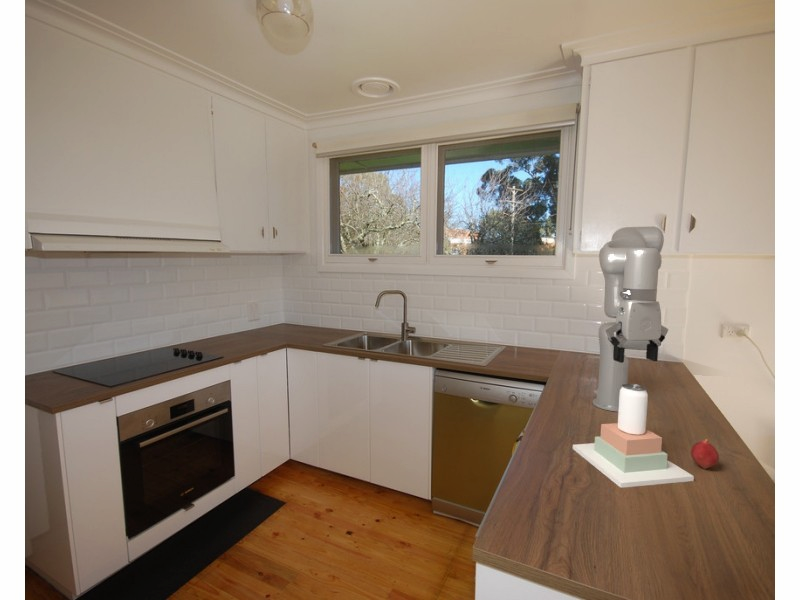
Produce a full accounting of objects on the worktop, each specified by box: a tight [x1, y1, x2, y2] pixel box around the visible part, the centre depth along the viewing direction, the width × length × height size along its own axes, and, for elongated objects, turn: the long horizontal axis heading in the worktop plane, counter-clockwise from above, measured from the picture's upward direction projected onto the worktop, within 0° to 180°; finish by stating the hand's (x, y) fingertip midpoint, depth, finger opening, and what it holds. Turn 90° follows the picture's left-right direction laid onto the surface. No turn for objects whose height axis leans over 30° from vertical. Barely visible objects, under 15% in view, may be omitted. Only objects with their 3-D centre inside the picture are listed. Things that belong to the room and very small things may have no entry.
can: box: [617, 383, 649, 435], centre depth 106 cm, size 6×6×12 cm
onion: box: [690, 439, 720, 470], centre depth 104 cm, size 6×6×8 cm
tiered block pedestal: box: [572, 422, 695, 489], centre depth 107 cm, size 20×20×9 cm
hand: (635, 360), depth 104 cm, fingers open, 9 cm apart
